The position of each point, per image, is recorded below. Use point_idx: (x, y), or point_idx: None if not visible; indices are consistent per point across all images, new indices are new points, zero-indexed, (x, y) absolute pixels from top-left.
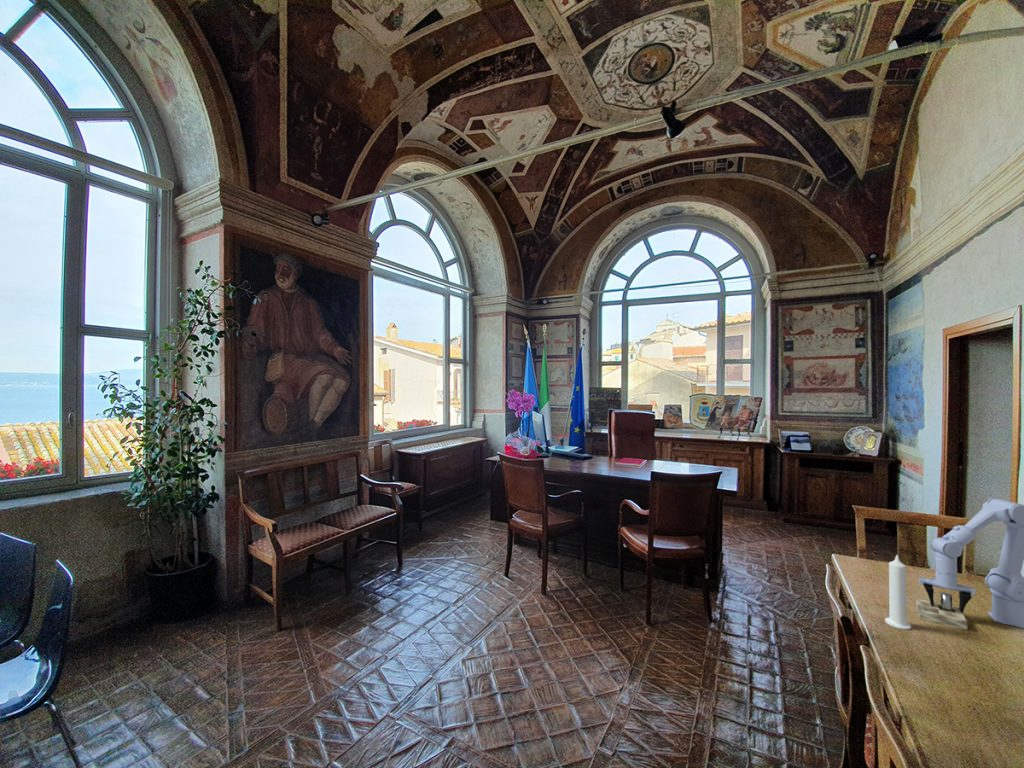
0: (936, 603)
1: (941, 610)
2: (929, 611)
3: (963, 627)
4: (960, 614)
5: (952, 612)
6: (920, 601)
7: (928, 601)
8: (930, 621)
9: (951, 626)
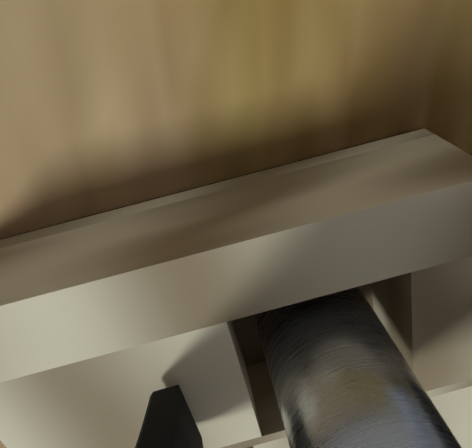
0: (206, 274)
1: (279, 442)
2: None
3: None
4: (454, 388)
5: None
6: (21, 388)
7: (98, 294)
8: None
9: None
